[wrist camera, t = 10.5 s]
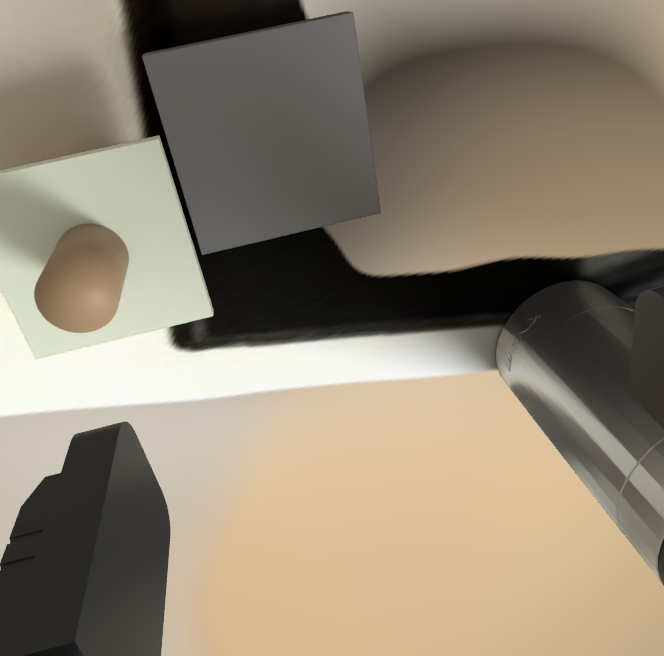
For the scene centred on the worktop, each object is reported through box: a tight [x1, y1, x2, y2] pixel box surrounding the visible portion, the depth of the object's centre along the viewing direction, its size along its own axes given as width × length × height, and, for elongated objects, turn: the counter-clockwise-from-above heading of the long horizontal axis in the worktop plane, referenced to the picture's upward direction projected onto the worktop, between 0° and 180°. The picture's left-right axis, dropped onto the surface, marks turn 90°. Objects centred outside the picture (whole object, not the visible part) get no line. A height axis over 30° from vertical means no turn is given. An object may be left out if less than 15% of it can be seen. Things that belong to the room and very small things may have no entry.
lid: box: [0, 135, 213, 359], centre depth 27 cm, size 9×9×5 cm
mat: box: [142, 12, 381, 255], centre depth 32 cm, size 10×10×2 cm
